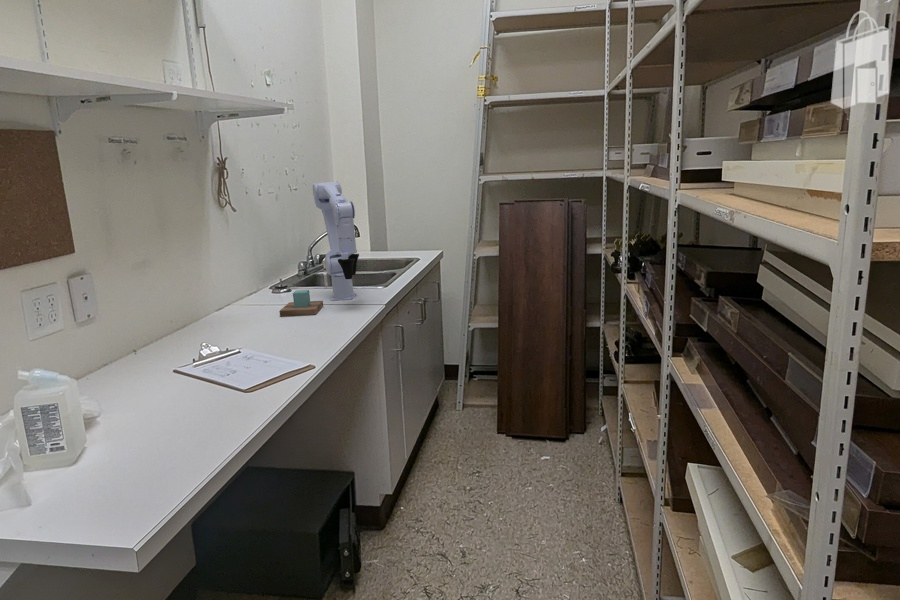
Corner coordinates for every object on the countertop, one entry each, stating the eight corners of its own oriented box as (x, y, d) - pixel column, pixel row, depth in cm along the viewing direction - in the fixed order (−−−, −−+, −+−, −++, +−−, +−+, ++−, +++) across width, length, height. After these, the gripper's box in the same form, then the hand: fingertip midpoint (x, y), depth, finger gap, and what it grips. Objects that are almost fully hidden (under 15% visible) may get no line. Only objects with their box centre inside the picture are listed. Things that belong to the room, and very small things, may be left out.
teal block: (297, 304, 200) (295, 290, 199) (310, 303, 200) (308, 289, 199) (294, 307, 195) (292, 293, 194) (307, 306, 195) (305, 292, 194)
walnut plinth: (289, 307, 204) (289, 302, 203) (323, 306, 204) (322, 300, 203) (280, 316, 192) (279, 311, 192) (315, 314, 192) (315, 309, 192)
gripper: (338, 236, 203) (342, 273, 206) (330, 241, 189) (335, 281, 192) (358, 234, 203) (362, 272, 206) (352, 239, 189) (356, 280, 192)
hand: (350, 276), depth 199 cm, fingers open, 7 cm apart
